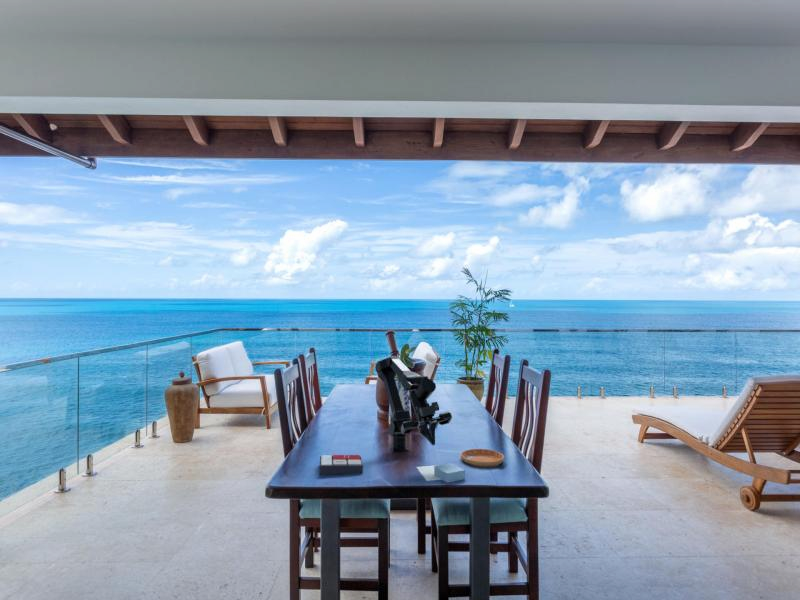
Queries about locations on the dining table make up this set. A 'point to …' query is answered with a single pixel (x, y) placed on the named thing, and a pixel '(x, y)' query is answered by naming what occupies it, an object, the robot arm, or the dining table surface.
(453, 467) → the box
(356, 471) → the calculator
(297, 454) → the dining table surface
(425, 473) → the mat
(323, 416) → the dining table surface
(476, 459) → the saucer
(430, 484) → the dining table surface
